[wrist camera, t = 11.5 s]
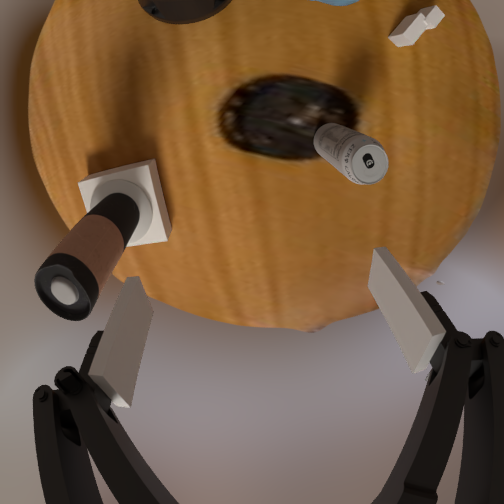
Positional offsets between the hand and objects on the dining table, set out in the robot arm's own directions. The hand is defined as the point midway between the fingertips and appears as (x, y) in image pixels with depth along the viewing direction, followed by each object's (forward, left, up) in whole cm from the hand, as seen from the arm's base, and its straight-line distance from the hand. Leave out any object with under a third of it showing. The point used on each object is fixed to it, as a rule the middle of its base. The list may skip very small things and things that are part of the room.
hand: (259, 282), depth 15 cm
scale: (+5, -20, -32) cm, 38 cm away
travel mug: (+5, -20, -27) cm, 34 cm away
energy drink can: (-1, +14, -32) cm, 35 cm away
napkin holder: (-23, +32, -32) cm, 51 cm away
